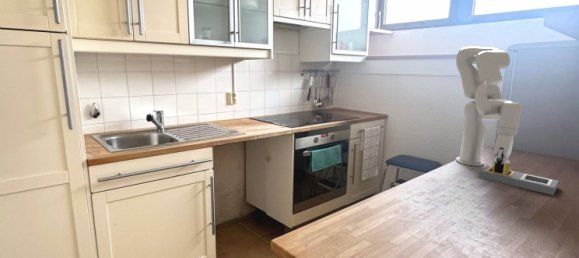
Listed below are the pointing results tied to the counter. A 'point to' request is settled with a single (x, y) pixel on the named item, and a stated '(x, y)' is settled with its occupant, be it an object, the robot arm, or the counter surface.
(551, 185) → the socket stand
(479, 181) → the counter surface
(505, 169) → the pill bottle
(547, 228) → the counter surface
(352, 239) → the counter surface
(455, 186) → the counter surface
